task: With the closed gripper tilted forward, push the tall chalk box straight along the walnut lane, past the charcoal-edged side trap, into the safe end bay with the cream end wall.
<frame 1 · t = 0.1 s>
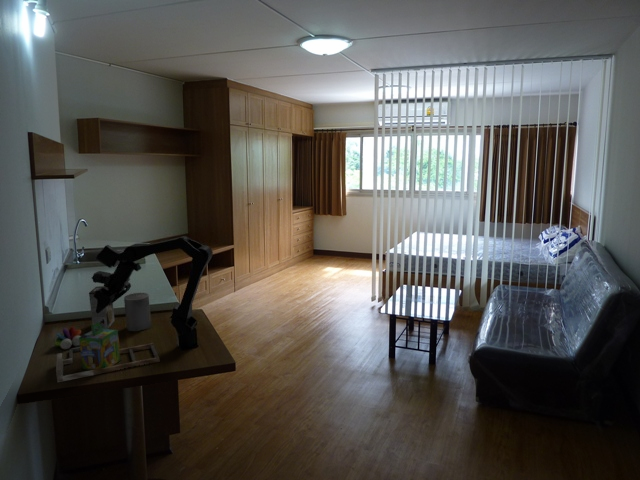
hand: (102, 308, 178), 15 cm above the table, tool tilted 35°, fingers open, 9 cm apart
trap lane: (111, 362, 166), on the table
coffee box: (104, 325, 203), on the table
rainbow disc cluster: (69, 346, 182), on the table
pillar candle: (139, 327, 200), on the table
chalk box: (102, 365, 165), resting in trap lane
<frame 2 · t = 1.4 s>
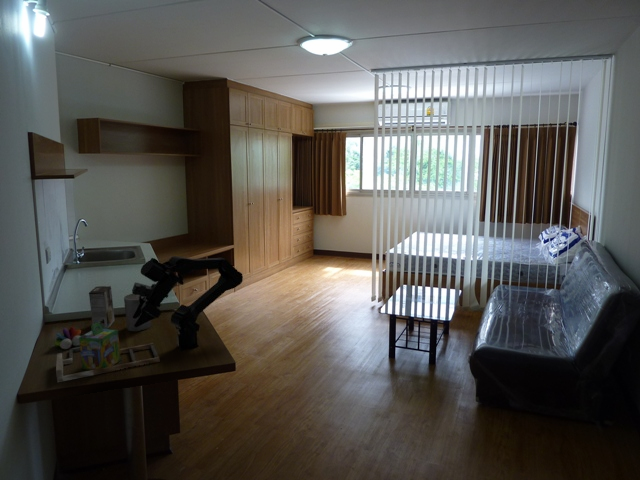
hand: (134, 322, 169), 13 cm above the table, tool tilted 45°, fingers open, 9 cm apart
nothing on the table moved.
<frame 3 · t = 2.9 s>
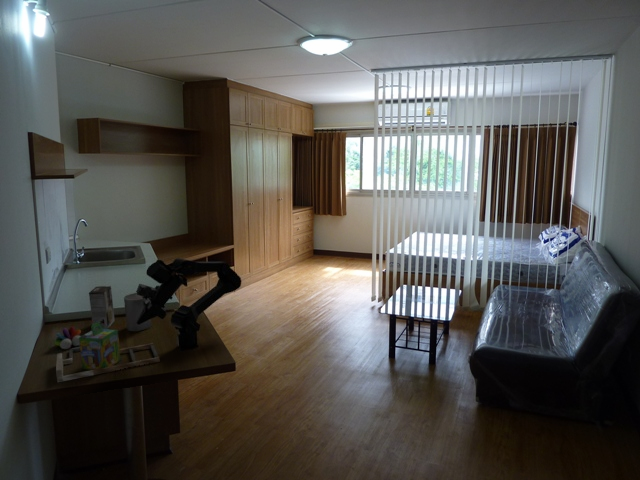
hand: (137, 323, 168), 13 cm above the table, tool tilted 45°, fingers closed
nothing on the table moved.
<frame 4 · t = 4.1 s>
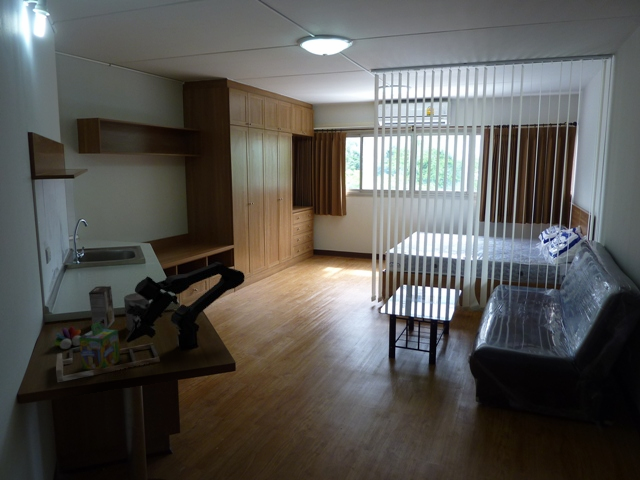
hand: (127, 341, 168), 7 cm above the table, tool tilted 45°, fingers closed
nothing on the table moved.
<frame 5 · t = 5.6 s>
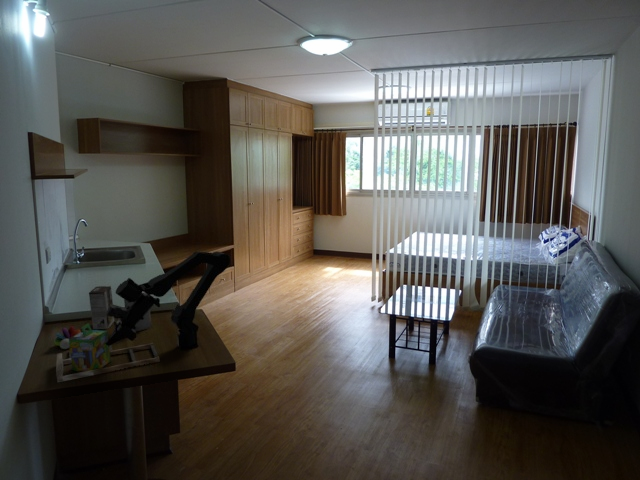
hand: (107, 344, 165), 7 cm above the table, tool tilted 45°, fingers closed
chalk box: (92, 366, 164), resting in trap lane, touching gripper
everything else where it was.
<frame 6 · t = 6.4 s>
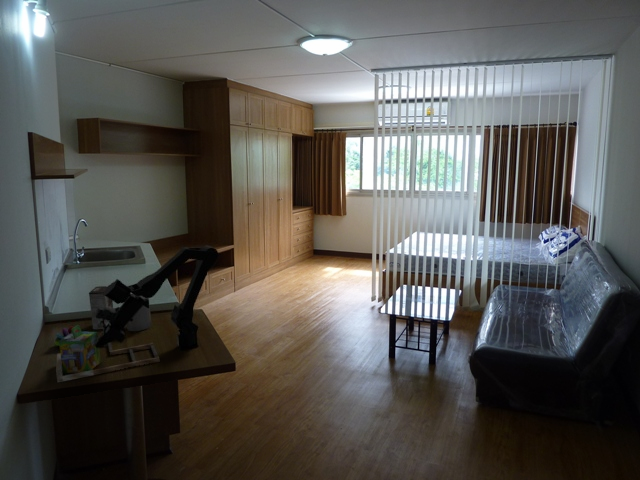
hand: (96, 347, 163), 7 cm above the table, tool tilted 45°, fingers closed
chalk box: (82, 368, 163), resting in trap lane, touching gripper
everything else where it was.
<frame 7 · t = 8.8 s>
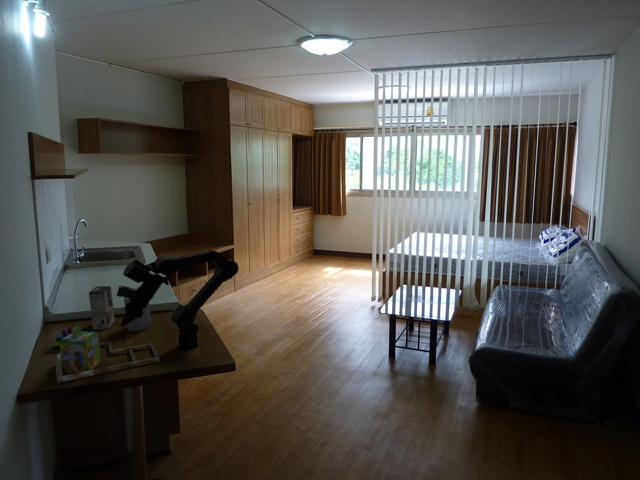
hand: (121, 326, 167), 12 cm above the table, tool tilted 40°, fingers closed
chalk box: (82, 368, 163), resting in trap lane
everything else where it was.
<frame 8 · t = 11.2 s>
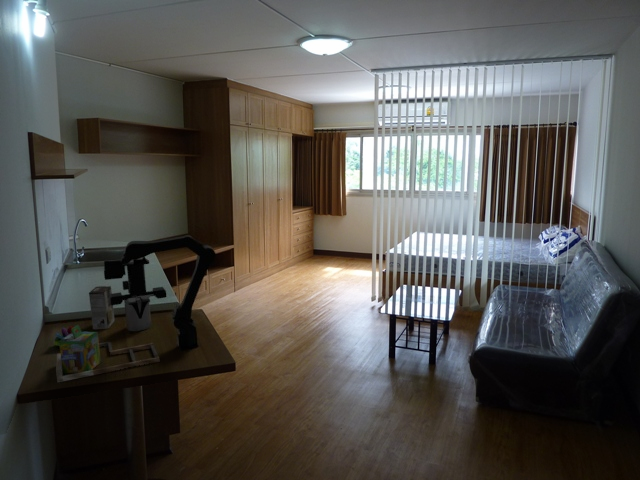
hand: (140, 318, 172), 13 cm above the table, tool pointing down, fingers closed
nothing on the table moved.
at the end: chalk box inside the target area (1.3 cm from its centre), resting in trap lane; chalk box tilted 0° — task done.
